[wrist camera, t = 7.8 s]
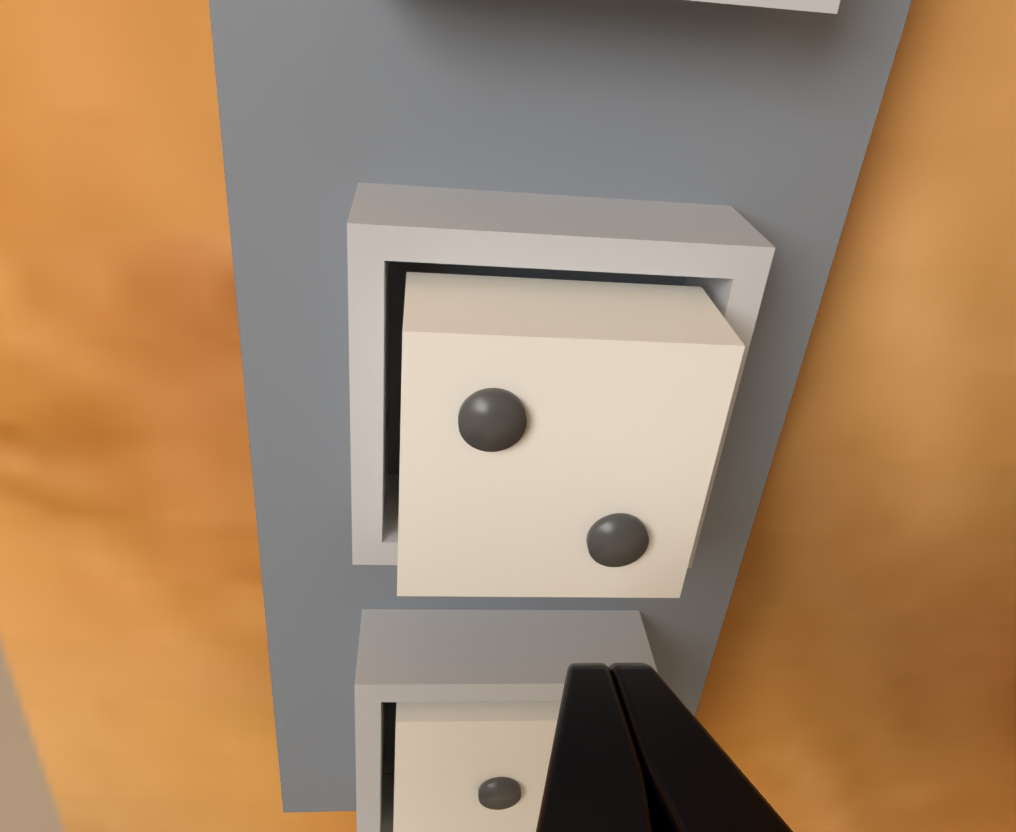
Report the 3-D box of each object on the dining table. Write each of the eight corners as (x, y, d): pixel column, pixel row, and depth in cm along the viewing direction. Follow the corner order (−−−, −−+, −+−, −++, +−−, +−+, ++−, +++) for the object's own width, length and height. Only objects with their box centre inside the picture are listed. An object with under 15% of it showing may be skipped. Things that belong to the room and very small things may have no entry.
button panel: (650, 739, 23) (688, 878, 20) (294, 744, 22) (270, 893, 19) (1017, -629, 10) (1314, -908, 7) (179, -788, 9) (27, -1221, 6)
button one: (574, 770, 20) (588, 854, 18) (395, 773, 20) (392, 860, 18) (599, 644, 18) (618, 726, 16) (399, 643, 18) (395, 728, 16)
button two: (650, 518, 14) (682, 605, 13) (400, 513, 14) (396, 602, 12) (701, 286, 12) (749, 351, 10) (406, 271, 12) (402, 336, 10)
